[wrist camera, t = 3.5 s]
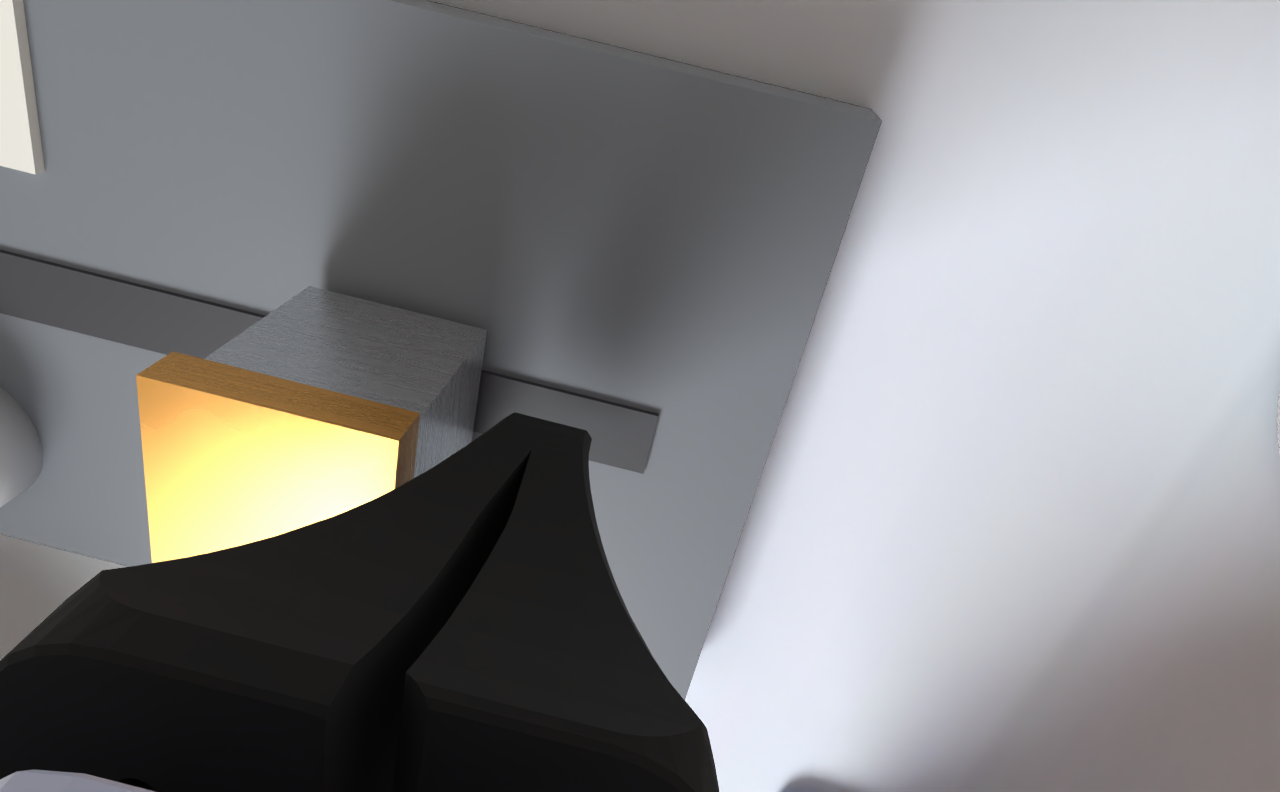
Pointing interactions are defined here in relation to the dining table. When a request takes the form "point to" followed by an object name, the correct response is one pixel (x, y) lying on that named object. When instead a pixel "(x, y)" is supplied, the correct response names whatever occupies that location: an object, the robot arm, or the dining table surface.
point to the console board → (414, 247)
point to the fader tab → (301, 419)
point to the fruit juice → (1278, 423)
